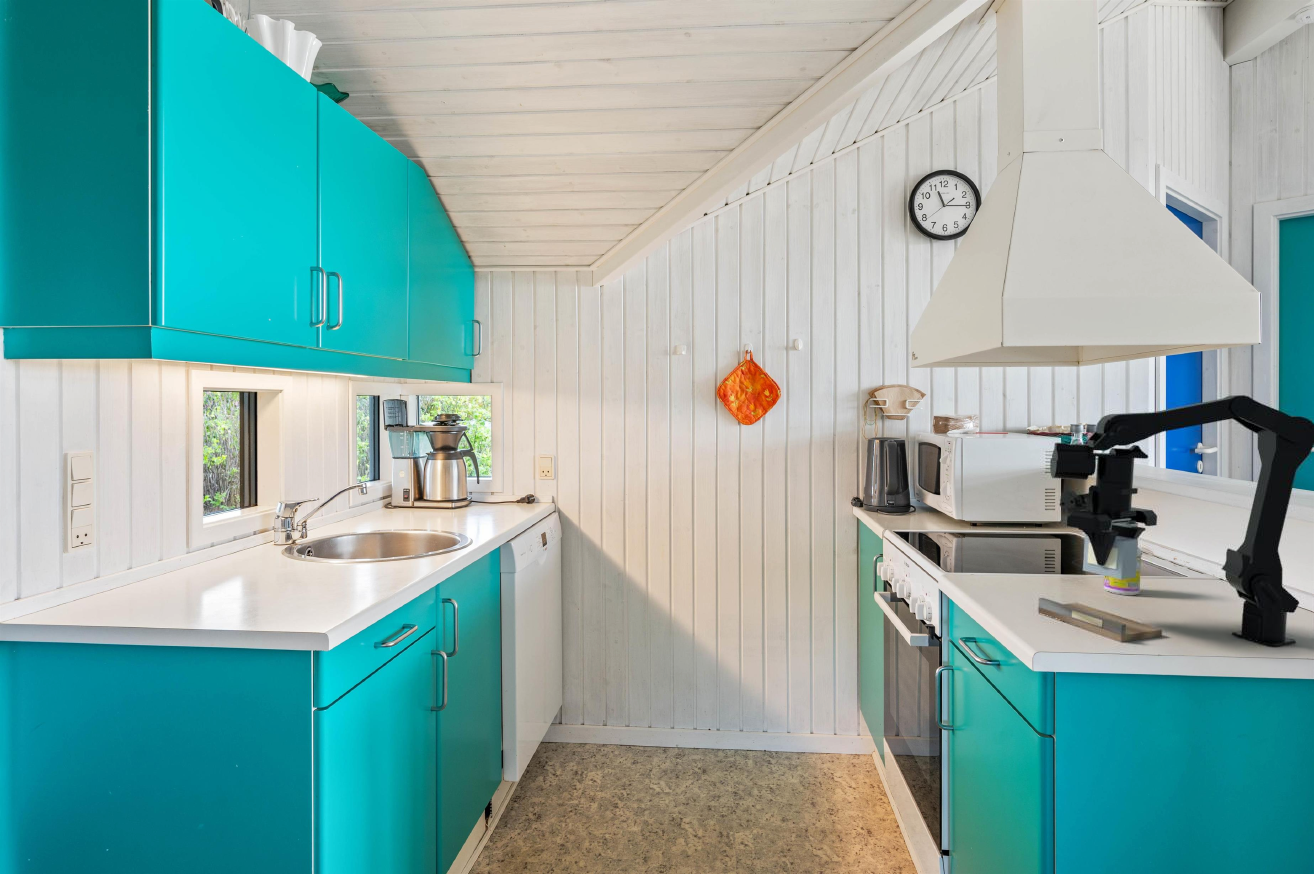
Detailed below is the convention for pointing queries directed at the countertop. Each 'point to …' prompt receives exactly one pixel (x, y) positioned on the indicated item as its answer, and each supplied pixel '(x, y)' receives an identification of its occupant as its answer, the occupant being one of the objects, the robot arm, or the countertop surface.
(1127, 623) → the shelf board
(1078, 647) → the countertop surface
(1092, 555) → the carton
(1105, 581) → the supplement bottle
